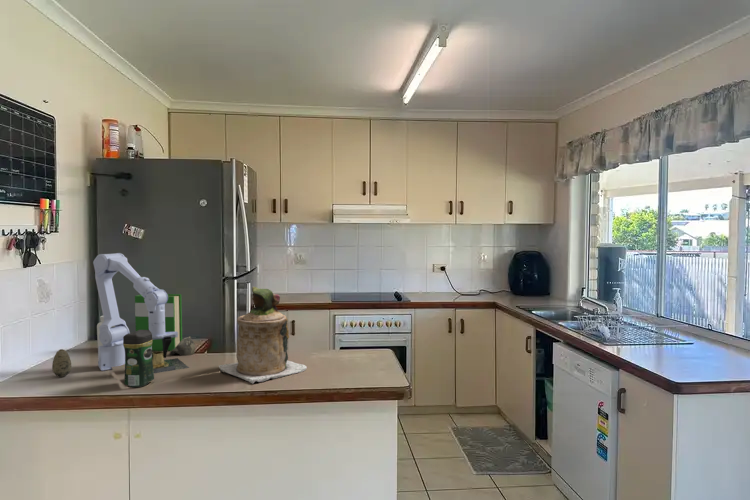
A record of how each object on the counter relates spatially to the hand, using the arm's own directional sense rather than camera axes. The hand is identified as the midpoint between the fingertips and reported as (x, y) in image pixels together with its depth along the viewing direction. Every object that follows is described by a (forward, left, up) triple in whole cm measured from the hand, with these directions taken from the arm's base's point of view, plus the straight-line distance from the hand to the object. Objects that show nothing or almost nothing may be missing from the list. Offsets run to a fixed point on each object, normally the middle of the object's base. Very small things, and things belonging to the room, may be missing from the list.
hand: (157, 358), depth 194 cm
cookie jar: (+32, -23, -5) cm, 40 cm away
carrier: (+3, +3, -5) cm, 6 cm away
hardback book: (+9, +37, -5) cm, 39 cm away
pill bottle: (-10, +49, -5) cm, 51 cm away
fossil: (+14, +19, -5) cm, 25 cm away
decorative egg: (-30, +13, -5) cm, 33 cm away
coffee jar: (-9, -13, -5) cm, 16 cm away
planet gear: (0, 0, -4) cm, 4 cm away
